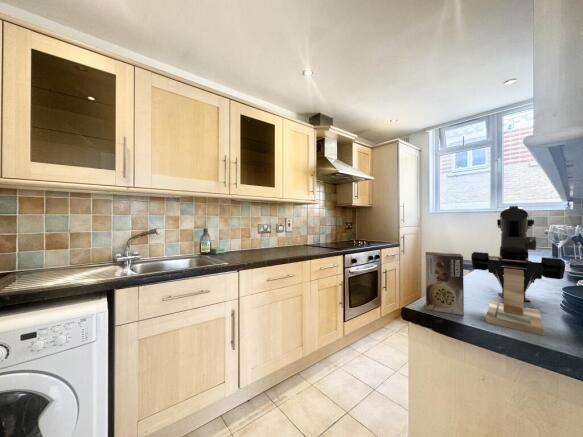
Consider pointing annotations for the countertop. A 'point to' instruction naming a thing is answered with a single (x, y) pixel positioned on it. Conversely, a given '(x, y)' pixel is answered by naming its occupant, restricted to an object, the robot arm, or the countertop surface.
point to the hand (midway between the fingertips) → (513, 289)
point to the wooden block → (514, 291)
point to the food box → (444, 282)
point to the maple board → (515, 319)
